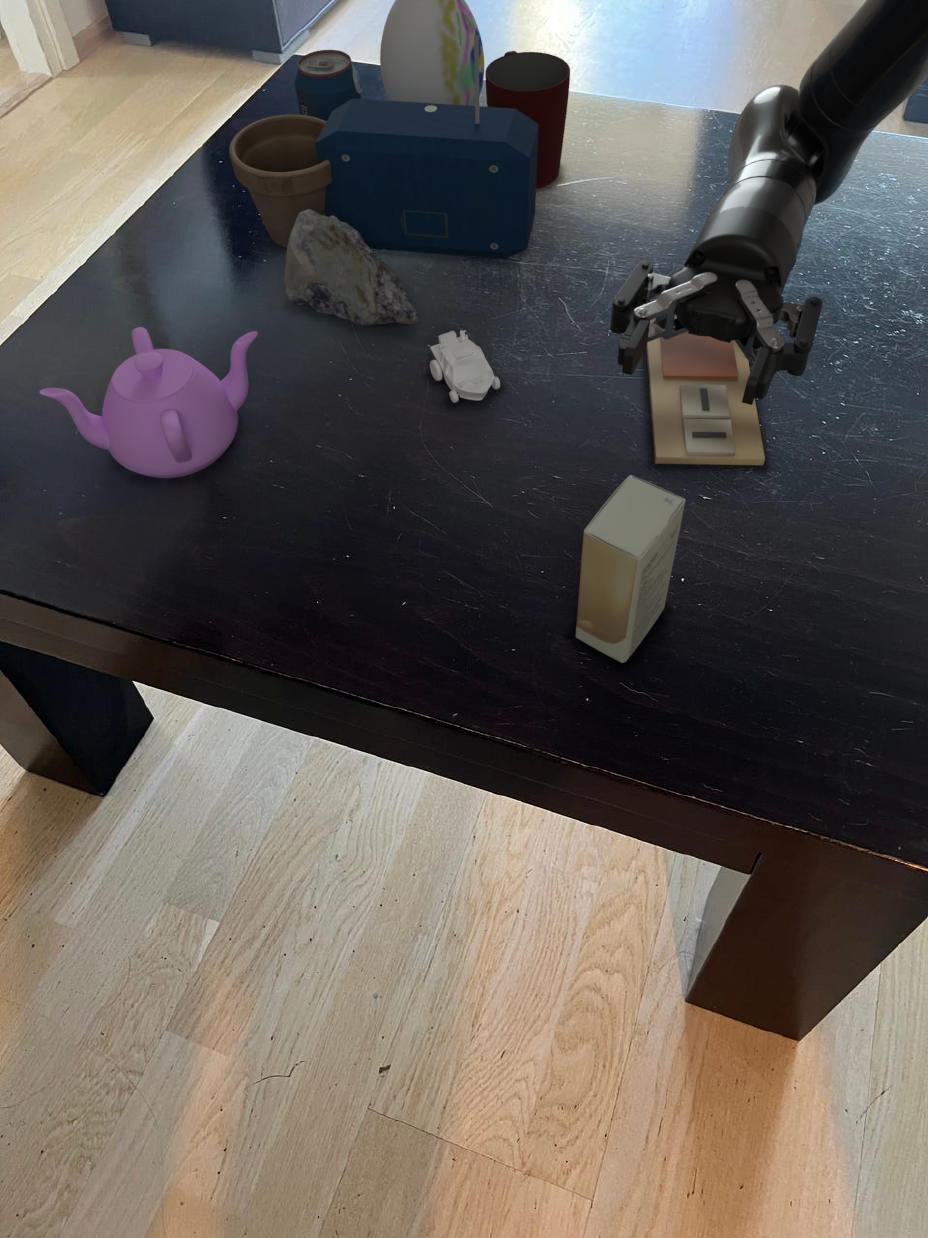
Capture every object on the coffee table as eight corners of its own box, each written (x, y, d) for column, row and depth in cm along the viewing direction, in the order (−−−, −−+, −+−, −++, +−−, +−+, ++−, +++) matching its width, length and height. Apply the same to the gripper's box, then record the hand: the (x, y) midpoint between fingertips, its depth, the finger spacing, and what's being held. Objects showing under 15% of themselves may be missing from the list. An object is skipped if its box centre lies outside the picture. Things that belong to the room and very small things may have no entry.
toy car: (471, 351, 92) (469, 314, 88) (510, 400, 87) (510, 363, 84) (425, 367, 91) (421, 330, 87) (462, 418, 86) (460, 381, 83)
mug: (471, 146, 114) (468, 46, 105) (544, 134, 115) (546, 34, 107) (499, 199, 107) (498, 96, 98) (575, 185, 108) (581, 82, 99)
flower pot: (338, 270, 101) (327, 176, 92) (233, 259, 102) (212, 166, 94) (364, 209, 107) (356, 117, 99) (265, 200, 109) (249, 108, 100)
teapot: (76, 470, 84) (36, 389, 77) (172, 374, 91) (143, 293, 84) (188, 511, 81) (156, 430, 74) (278, 408, 88) (257, 326, 81)
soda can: (377, 158, 114) (365, 48, 104) (360, 189, 110) (345, 78, 100) (321, 153, 115) (303, 44, 105) (302, 184, 111) (282, 74, 101)
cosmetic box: (615, 584, 74) (631, 469, 65) (666, 609, 73) (690, 495, 63) (571, 640, 71) (580, 529, 62) (622, 668, 70) (640, 558, 60)
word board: (763, 465, 81) (766, 453, 80) (654, 463, 82) (656, 451, 81) (738, 318, 93) (741, 305, 92) (643, 317, 94) (645, 304, 93)
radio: (536, 218, 105) (544, 15, 89) (525, 265, 100) (531, 59, 84) (348, 204, 107) (323, 4, 91) (328, 249, 102) (297, 46, 86)
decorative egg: (485, 138, 115) (481, -2, 103) (382, 141, 116) (367, 2, 104) (485, 89, 123) (482, -47, 111) (389, 92, 123) (375, -43, 111)
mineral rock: (425, 338, 93) (417, 243, 85) (319, 369, 91) (300, 274, 83) (382, 267, 100) (370, 173, 92) (282, 293, 98) (261, 200, 90)
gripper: (663, 186, 74) (592, 309, 65) (854, 223, 70) (805, 358, 62) (651, 273, 80) (585, 396, 71) (826, 311, 76) (779, 446, 68)
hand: (687, 378), depth 66 cm, fingers open, 8 cm apart
